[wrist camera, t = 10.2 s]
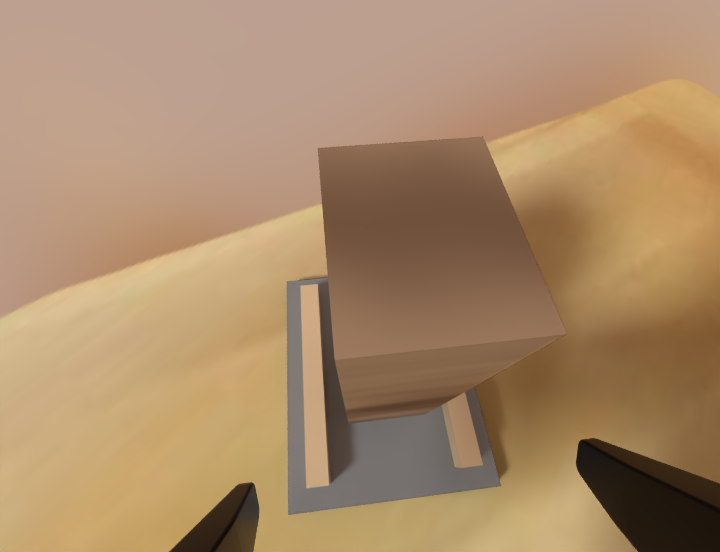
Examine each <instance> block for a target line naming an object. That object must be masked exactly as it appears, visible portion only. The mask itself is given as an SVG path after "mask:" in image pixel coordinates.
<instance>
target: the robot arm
mask: <svg viewBox="0 0 720 552" xmlns="http://www.w3.org/2000/svg"><path fill="white" fill-rule="evenodd" d="M576 466H577V469H578V472H579V474H580V475H581V477H582V478H583V480H584V481H585V482H586V484H587V485H588V487H589V488H590V489H591V491H592V492H593V494H594V495H595V496H596V498H597V499H598V501H599V502H600V503H601V505H602V506H603V508H604V509H605V511H606V512H607V513H608V515H609V516H610V518H611V519H612V520H613V522H614V523H615V524H616V525H617V527H618V528H619V529H620V531H621V532H622V533H623V534H624V535H625V537H626V538H627V539H628V540H629V541H630V543H631V544H632V545H633V546H634V547H635V549H636V550H637V551H638V552H720V484H719V483H716V482H714V481H711V480H708V479H706V478H703V477H700V476H697V475H695V474H692V473H689V472H686V471H684V470H681V469H678V468H675V467H673V466H670V465H667V464H664V463H662V462H659V461H656V460H653V459H651V458H648V457H645V456H642V455H640V454H637V453H634V452H631V451H629V450H626V449H623V448H620V447H618V446H615V445H612V444H609V443H607V442H604V441H601V440H598V439H595V438H590V439H582V440H580V442H579V444H578V451H577V459H576ZM258 520H259V504H258V499H257V494H256V489H255V485H254V483H252V482H250V483H243V484H238V485H237V486H236V487H235V488H234V489H233V490H232V491H231V492H230V493H229V494H228V495H227V496H226V497H225V498H224V499H223V500H221V501H220V502H219V503H218V504H217V505H216V506H215V507H214V508H213V509H212V510H211V511H210V512H209V513H208V514H207V515H206V516H205V517H204V518H203V519H202V520H201V521H200V522H199V523H198V524H197V525H196V526H195V527H194V528H193V529H192V530H191V531H190V532H189V533H188V534H187V535H186V536H185V537H184V538H183V539H182V540H181V541H180V542H179V543H178V544H177V545H176V546H175V547H174V548H173V549H172V550H170V551H169V552H253V550H254V544H255V538H256V532H257V526H258Z"/></svg>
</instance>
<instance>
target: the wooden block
mask: <svg viewBox="0 0 720 552" xmlns="http://www.w3.org/2000/svg"><path fill="white" fill-rule="evenodd" d="M318 156H319V169H320V181H321V194H322V207H323V219H324V232H325V245H326V257H327V270H328V283H329V295H330V308H331V320H332V333H333V346H334V358H335V364H336V369H337V373H338V378H339V382H340V387H341V392H342V396H343V401H344V405H345V410H346V415H347V419H348V424H352V423H361V422H369V421H377V420H385V419H393V418H401V417H409V416H417V415H425V414H427V413H429V412H431V411H432V410H434V409H436V408H438V407H439V406H441V405H443V404H445V403H446V402H448V401H450V400H452V399H453V398H455V397H457V396H459V395H461V394H462V393H464V392H466V391H468V390H469V389H471V388H473V387H475V386H476V385H478V384H480V383H482V382H483V381H485V380H487V379H489V378H490V377H492V376H494V375H496V374H498V373H499V372H501V371H503V370H505V369H506V368H508V367H510V366H512V365H513V364H515V363H517V362H519V361H520V360H522V359H524V358H526V357H527V356H529V355H531V354H533V353H535V352H536V351H538V350H540V349H542V348H543V347H545V346H547V345H549V344H550V343H552V342H554V341H556V340H557V339H559V338H561V337H563V336H565V335H566V334H567V332H566V330H565V328H564V325H563V323H562V321H561V318H560V316H559V314H558V311H557V309H556V307H555V304H554V302H553V300H552V297H551V295H550V293H549V290H548V288H547V286H546V283H545V281H544V279H543V276H542V274H541V272H540V269H539V267H538V264H537V262H536V260H535V257H534V255H533V253H532V250H531V248H530V246H529V243H528V241H527V239H526V236H525V234H524V232H523V229H522V227H521V225H520V222H519V220H518V218H517V215H516V213H515V211H514V208H513V206H512V204H511V201H510V199H509V197H508V194H507V192H506V190H505V187H504V185H503V183H502V180H501V178H500V175H499V173H498V171H497V168H496V166H495V164H494V161H493V159H492V157H491V154H490V152H489V150H488V147H487V145H486V143H485V141H484V138H483V137H472V138H457V139H443V140H428V141H415V142H400V143H385V144H371V145H356V146H343V147H328V148H318Z"/></svg>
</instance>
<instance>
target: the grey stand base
mask: <svg viewBox="0 0 720 552" xmlns="http://www.w3.org/2000/svg"><path fill="white" fill-rule="evenodd" d="M287 392H288V515H291V514H298V513H306V512H313V511H320V510H328V509H335V508H343V507H350V506H357V505H365V504H372V503H379V502H387V501H394V500H402V499H409V498H416V497H424V496H431V495H438V494H446V493H453V492H461V491H468V490H475V489H483V488H490V487H497V486H501V484H500V480H499V476H498V472H497V469H496V465H495V461H494V457H493V454H492V450H491V446H490V442H489V438H488V435H487V431H486V427H485V423H484V419H483V416H482V412H481V408H480V404H479V401H478V397H477V393H476V389H475V387H473V388H471V389H469V390H468V391H466V392H464V393H462V394H461V395H459V396H457V397H455V398H453V399H452V400H450V401H448V402H446V403H445V404H443V405H441V406H439V407H438V408H436V409H434V410H432V411H431V412H429V413H427V414H425V415H417V416H409V417H401V418H393V419H385V420H377V421H369V422H361V423H352V424H348V419H347V415H346V410H345V405H344V401H343V396H342V392H341V387H340V382H339V378H338V373H337V369H336V364H335V358H334V346H333V333H332V320H331V308H330V295H329V283H328V278H320V279H309V280H298V281H287Z"/></svg>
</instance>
